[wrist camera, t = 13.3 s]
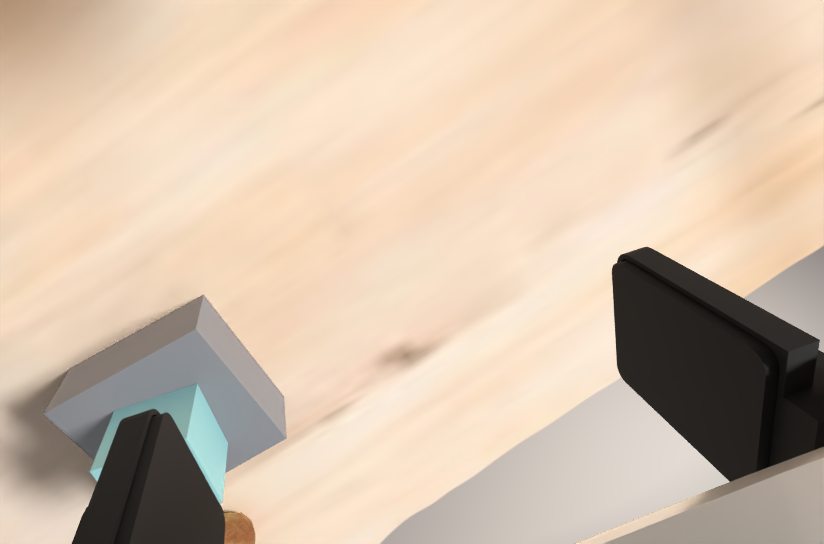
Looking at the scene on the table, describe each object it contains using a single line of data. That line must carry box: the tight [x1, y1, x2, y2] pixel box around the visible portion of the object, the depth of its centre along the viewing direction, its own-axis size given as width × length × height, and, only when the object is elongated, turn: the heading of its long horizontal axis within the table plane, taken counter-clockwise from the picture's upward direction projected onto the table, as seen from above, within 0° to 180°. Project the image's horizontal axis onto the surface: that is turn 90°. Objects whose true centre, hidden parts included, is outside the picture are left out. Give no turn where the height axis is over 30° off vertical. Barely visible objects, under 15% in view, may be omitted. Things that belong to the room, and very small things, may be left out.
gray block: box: [43, 295, 286, 473], centre depth 43 cm, size 12×12×6 cm
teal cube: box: [90, 384, 228, 504], centre depth 37 cm, size 6×6×6 cm
